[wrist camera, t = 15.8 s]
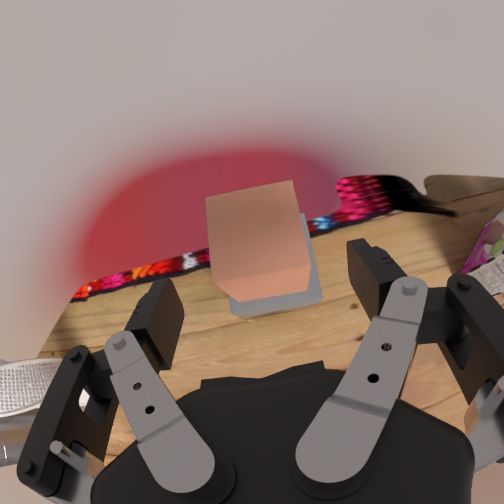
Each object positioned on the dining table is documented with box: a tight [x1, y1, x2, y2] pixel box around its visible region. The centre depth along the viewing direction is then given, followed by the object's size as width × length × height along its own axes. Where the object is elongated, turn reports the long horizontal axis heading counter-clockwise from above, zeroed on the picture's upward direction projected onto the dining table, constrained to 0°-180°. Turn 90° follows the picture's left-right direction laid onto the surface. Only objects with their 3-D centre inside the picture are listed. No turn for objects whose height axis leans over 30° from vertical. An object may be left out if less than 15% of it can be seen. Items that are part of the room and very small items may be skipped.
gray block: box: [229, 213, 323, 317], centre depth 27 cm, size 8×8×4 cm
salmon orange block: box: [205, 180, 311, 302], centre depth 22 cm, size 6×6×8 cm
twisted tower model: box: [0, 358, 89, 417], centre depth 19 cm, size 8×8×28 cm
